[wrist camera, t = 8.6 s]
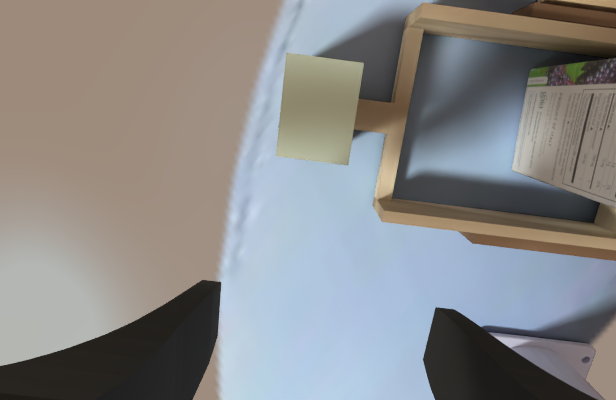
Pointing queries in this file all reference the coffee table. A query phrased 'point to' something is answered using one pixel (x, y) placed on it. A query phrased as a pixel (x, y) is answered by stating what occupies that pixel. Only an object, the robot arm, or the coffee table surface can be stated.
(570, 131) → the syrup box
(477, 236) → the lane board
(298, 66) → the wooden slotted tray
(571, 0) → the wooden bar
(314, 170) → the coffee table surface
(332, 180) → the coffee table surface
